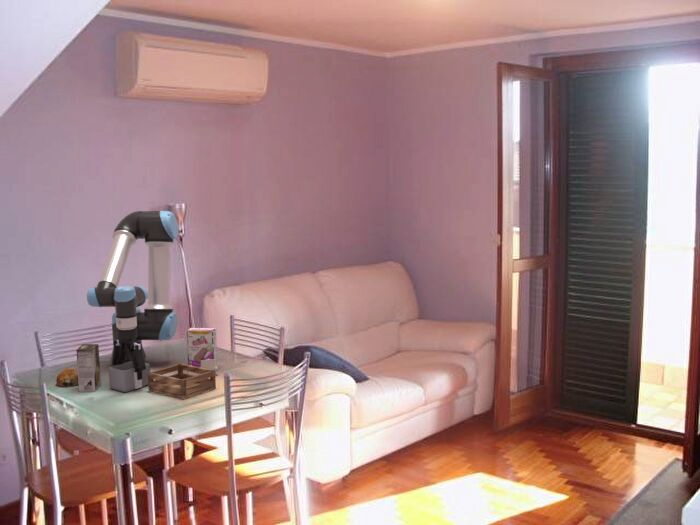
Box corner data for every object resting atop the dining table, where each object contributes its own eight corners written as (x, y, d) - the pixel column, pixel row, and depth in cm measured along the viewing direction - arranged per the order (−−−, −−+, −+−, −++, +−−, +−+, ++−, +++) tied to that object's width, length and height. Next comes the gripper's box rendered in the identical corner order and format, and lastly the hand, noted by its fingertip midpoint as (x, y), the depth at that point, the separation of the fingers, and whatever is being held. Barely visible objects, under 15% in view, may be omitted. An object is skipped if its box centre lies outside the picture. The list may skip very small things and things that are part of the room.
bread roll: (86, 391, 305) (91, 371, 307) (70, 387, 296) (75, 366, 298) (65, 389, 308) (70, 369, 310) (49, 385, 299) (53, 364, 301)
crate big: (148, 390, 292) (147, 372, 291) (180, 380, 305) (180, 363, 304) (183, 399, 281) (183, 380, 280) (215, 388, 294) (215, 370, 293)
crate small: (109, 388, 295) (108, 367, 294) (135, 380, 305) (134, 360, 303) (125, 392, 290) (124, 371, 289) (150, 384, 299) (149, 363, 298)
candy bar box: (187, 369, 321) (186, 330, 319) (191, 366, 326) (189, 327, 324) (214, 369, 320) (213, 330, 318) (217, 366, 325) (216, 327, 323)
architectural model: (199, 376, 312) (198, 358, 311) (216, 374, 314) (216, 356, 313) (201, 378, 309) (200, 360, 308) (218, 376, 311) (217, 358, 310)
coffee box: (84, 385, 301) (81, 344, 299) (101, 384, 301) (99, 343, 299) (78, 392, 292) (75, 349, 290) (95, 391, 292) (93, 349, 290)
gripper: (100, 326, 297) (103, 383, 300) (137, 333, 284) (141, 393, 288) (116, 322, 303) (119, 378, 306) (154, 329, 291) (157, 387, 294)
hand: (130, 385), depth 297 cm, fingers closed on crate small, 9 cm apart
